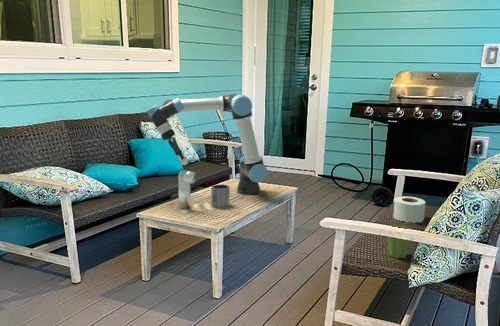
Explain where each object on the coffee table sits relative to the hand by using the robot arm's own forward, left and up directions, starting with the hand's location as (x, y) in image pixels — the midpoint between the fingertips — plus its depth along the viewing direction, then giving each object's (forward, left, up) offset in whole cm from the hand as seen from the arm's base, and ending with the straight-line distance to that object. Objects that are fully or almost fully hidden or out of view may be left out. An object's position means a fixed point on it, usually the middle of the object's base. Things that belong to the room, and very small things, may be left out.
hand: (185, 164), depth 248 cm
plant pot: (-65, +102, -25) cm, 124 cm away
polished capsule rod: (+2, +9, -23) cm, 25 cm away
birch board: (-7, +10, -25) cm, 27 cm away
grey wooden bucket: (-17, +11, -23) cm, 31 cm away
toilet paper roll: (-104, +66, -25) cm, 126 cm away
